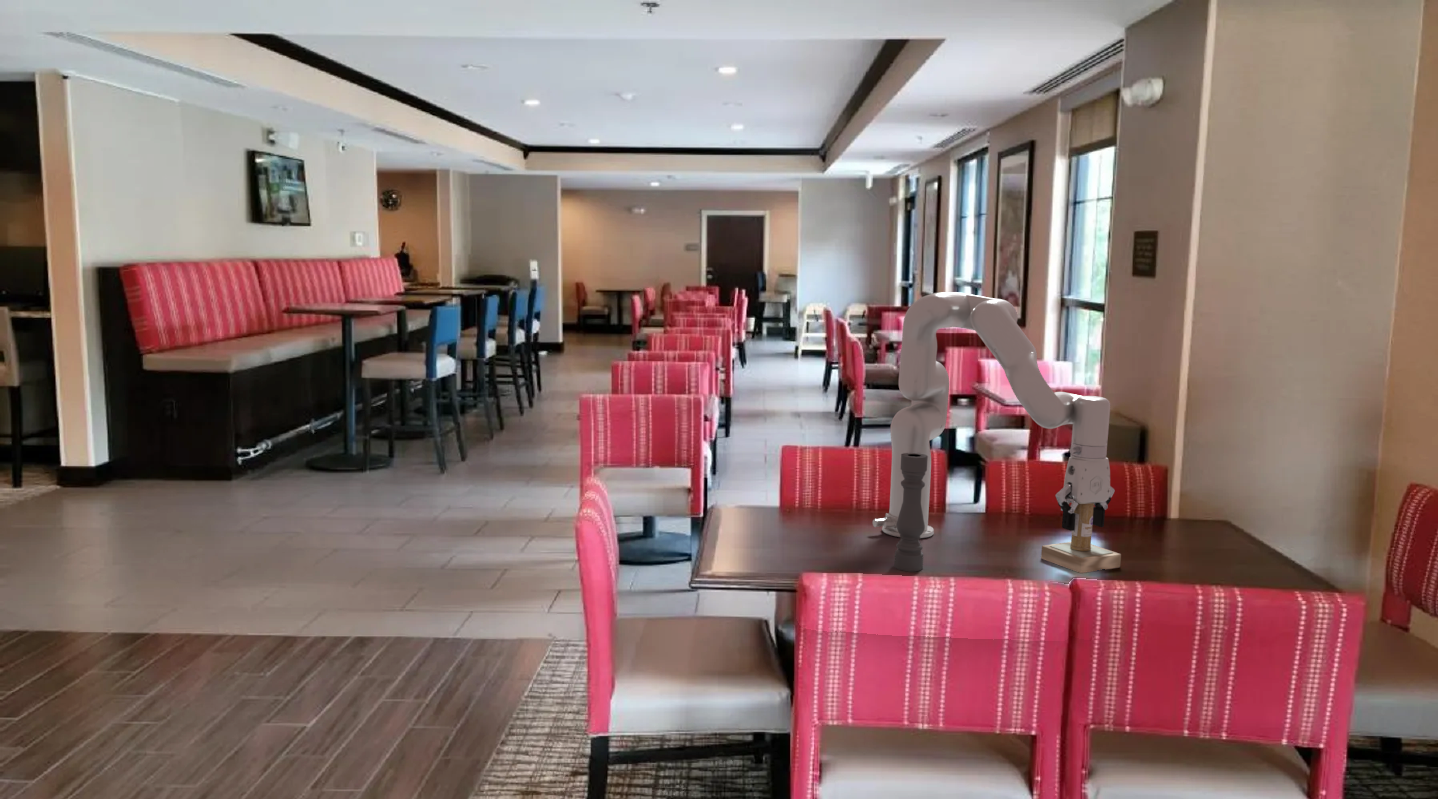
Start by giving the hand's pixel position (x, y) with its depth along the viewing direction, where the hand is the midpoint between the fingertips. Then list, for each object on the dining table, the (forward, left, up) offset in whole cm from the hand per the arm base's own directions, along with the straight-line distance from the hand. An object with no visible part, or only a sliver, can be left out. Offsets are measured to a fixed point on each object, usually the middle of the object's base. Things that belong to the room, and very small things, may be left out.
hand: (1082, 527), depth 234 cm
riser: (0, 0, -8) cm, 8 cm away
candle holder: (-39, +12, -8) cm, 42 cm away
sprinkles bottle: (0, 0, -5) cm, 5 cm away
